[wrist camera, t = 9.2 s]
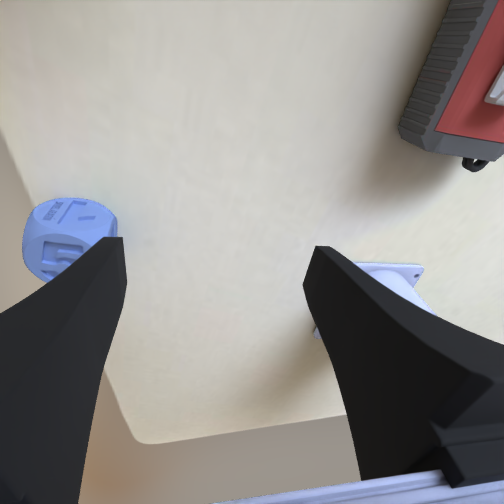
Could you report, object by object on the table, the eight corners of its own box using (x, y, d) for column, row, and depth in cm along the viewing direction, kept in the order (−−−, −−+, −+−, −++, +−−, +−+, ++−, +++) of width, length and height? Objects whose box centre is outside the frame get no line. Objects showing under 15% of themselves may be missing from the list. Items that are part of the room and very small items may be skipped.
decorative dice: (118, 203, 19) (104, 237, 16) (116, 253, 21) (103, 292, 18) (47, 192, 18) (16, 226, 15) (52, 246, 20) (26, 285, 17)
